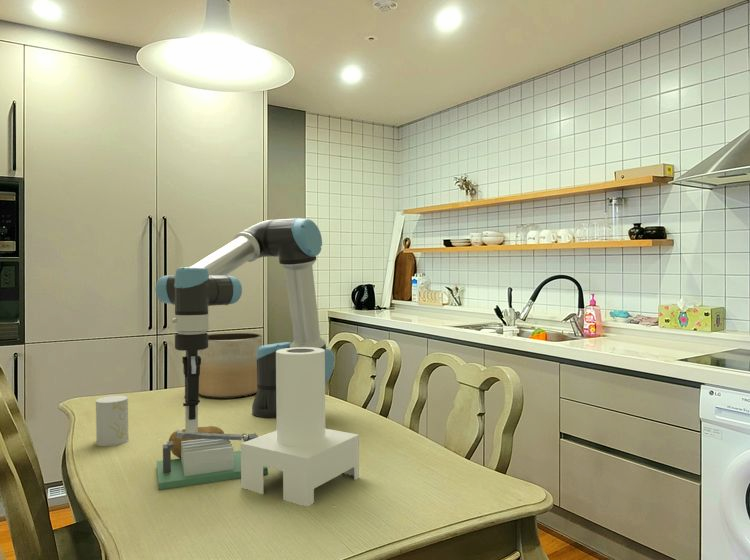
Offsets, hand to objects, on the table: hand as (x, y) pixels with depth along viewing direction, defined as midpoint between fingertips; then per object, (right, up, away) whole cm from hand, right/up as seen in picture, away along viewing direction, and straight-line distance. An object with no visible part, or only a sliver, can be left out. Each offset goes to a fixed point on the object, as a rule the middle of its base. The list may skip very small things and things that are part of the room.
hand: (191, 432), depth 132 cm
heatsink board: (+4, -10, +2) cm, 11 cm away
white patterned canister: (-30, -10, +25) cm, 41 cm away
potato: (-2, -10, +11) cm, 15 cm away
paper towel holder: (+27, -10, -6) cm, 29 cm away
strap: (+4, -2, +2) cm, 5 cm away
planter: (-13, -8, +87) cm, 88 cm away
